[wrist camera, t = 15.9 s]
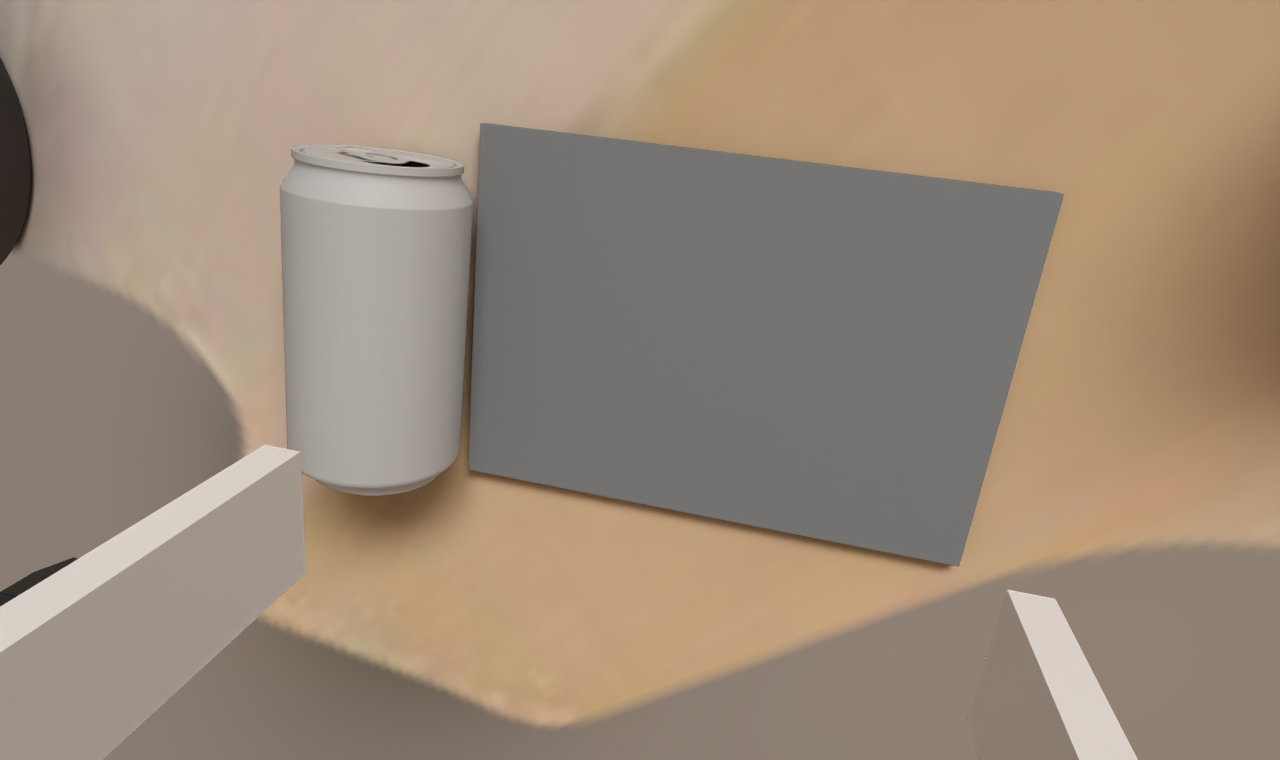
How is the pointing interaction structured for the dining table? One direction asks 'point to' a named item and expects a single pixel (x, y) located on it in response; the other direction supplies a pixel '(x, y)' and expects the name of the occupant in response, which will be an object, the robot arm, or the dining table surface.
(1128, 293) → the dining table surface
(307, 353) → the beverage can
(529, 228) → the mat
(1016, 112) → the dining table surface
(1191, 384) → the dining table surface
